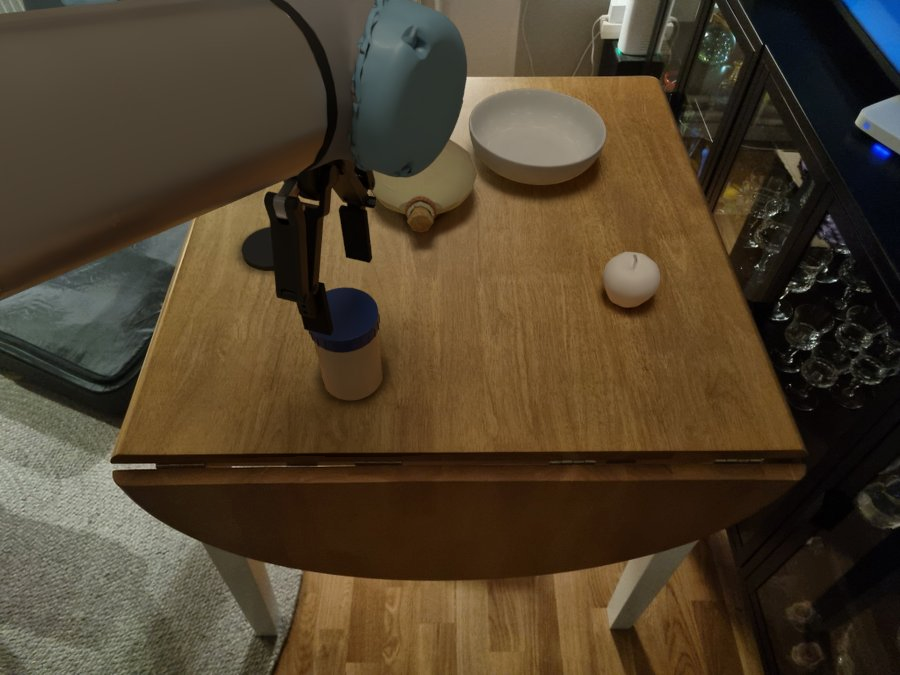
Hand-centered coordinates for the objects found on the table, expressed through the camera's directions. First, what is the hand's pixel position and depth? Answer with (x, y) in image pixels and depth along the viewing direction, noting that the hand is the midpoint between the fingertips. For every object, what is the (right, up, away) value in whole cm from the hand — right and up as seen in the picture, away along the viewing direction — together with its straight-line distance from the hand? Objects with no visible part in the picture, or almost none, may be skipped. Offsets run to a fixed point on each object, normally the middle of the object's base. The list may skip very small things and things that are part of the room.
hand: (340, 292), depth 65 cm
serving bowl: (+24, +23, +38) cm, 51 cm away
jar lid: (0, -2, +3) cm, 4 cm away
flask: (+7, +14, +30) cm, 34 cm away
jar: (0, -9, +11) cm, 14 cm away
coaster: (-13, +8, +24) cm, 29 cm away
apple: (+34, +1, +20) cm, 39 cm away
